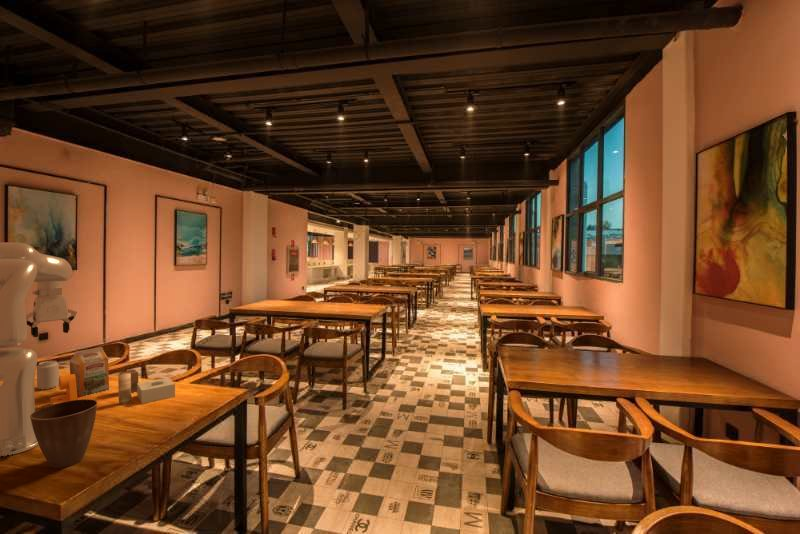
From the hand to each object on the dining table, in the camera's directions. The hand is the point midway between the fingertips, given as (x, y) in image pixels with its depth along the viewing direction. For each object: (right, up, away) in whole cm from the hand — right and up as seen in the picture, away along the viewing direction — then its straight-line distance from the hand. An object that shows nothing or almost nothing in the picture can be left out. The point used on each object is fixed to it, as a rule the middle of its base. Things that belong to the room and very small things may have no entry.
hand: (51, 334), depth 157 cm
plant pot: (+44, -30, -43) cm, 69 cm away
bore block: (+37, -28, +9) cm, 48 cm away
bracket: (+5, -29, 0) cm, 30 cm away
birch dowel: (+29, -29, +2) cm, 41 cm away
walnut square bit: (+22, -28, +15) cm, 39 cm away
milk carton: (+3, -29, +16) cm, 33 cm away
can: (-20, -28, +20) cm, 40 cm away
